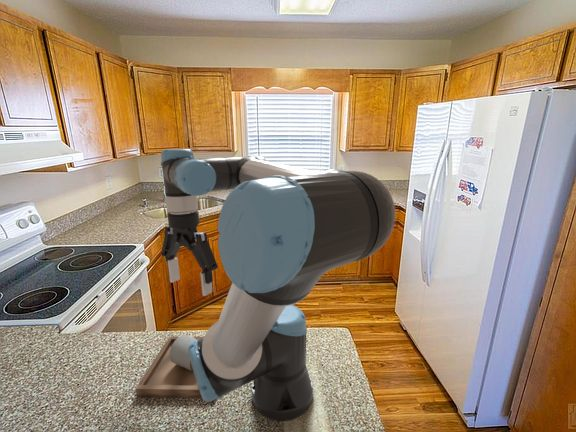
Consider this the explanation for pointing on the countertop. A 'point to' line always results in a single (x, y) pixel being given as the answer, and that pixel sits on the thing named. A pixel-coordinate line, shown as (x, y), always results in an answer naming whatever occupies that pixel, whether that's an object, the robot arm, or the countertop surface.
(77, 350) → the countertop surface
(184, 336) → the ceramic mug
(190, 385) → the walnut tray
